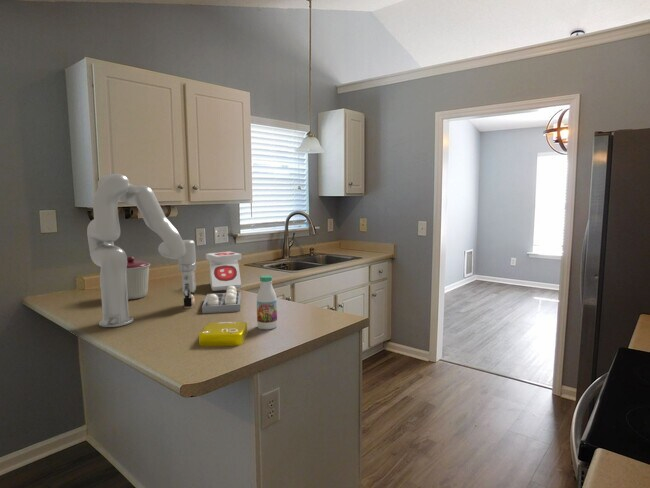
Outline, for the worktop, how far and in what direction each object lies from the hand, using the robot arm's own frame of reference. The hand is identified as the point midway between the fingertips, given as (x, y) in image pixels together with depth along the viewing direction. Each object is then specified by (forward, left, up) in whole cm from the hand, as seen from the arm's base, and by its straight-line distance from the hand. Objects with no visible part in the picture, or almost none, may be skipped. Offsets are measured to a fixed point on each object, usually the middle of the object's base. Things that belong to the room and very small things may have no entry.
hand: (189, 303), depth 194 cm
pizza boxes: (+40, -14, -2) cm, 42 cm away
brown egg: (0, 0, -2) cm, 2 cm away
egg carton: (0, -15, -2) cm, 15 cm away
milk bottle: (-37, -34, -2) cm, 50 cm away
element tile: (-47, -18, -2) cm, 51 cm away
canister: (+26, +31, -2) cm, 40 cm away
